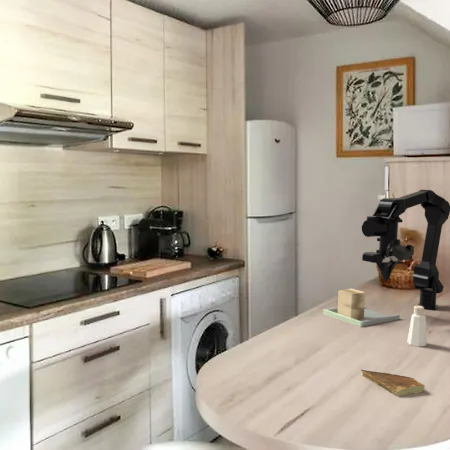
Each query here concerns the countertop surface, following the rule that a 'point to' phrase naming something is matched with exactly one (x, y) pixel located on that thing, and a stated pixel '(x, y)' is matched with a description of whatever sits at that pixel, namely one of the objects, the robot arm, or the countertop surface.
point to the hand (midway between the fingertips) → (386, 281)
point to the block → (351, 303)
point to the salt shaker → (417, 328)
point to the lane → (369, 317)
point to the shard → (395, 382)
